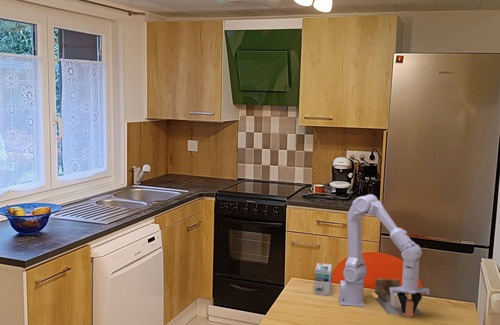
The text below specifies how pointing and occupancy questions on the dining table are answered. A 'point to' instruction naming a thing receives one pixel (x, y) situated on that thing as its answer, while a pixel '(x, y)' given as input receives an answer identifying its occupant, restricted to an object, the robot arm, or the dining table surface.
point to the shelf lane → (388, 295)
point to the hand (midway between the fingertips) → (408, 312)
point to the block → (396, 304)
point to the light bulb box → (323, 279)
